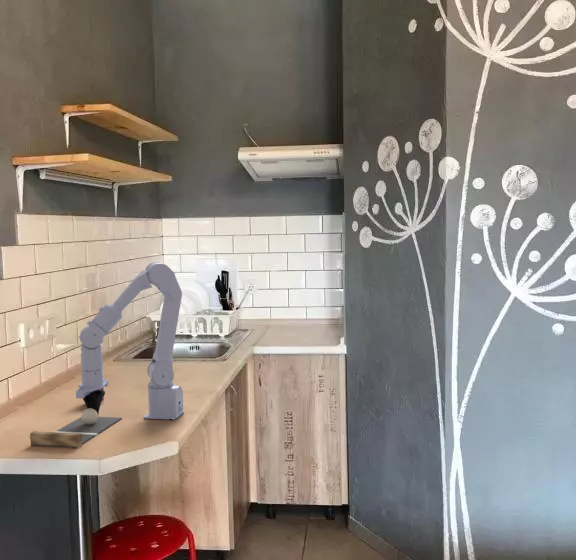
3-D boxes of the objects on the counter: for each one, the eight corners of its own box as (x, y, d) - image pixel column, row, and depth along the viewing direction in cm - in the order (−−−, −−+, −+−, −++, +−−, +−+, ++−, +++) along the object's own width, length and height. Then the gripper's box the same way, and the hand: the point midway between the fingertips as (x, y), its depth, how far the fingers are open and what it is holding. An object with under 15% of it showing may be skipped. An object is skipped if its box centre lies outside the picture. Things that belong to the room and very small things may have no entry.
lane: (121, 419, 183) (121, 417, 183) (76, 448, 158) (76, 446, 158) (82, 417, 185) (82, 416, 185) (32, 445, 161) (32, 444, 161)
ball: (101, 421, 179) (100, 406, 178) (93, 427, 175) (92, 411, 174) (86, 421, 180) (85, 405, 179) (78, 426, 175) (77, 411, 175)
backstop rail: (81, 446, 160) (81, 433, 159) (78, 448, 158) (78, 435, 158) (34, 443, 162) (33, 431, 162) (30, 445, 161) (30, 433, 160)
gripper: (91, 363, 186) (93, 409, 187) (64, 374, 172) (66, 424, 173) (114, 364, 185) (115, 410, 186) (89, 375, 171) (90, 425, 172)
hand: (93, 417), depth 179 cm, fingers closed, pressing on ball
